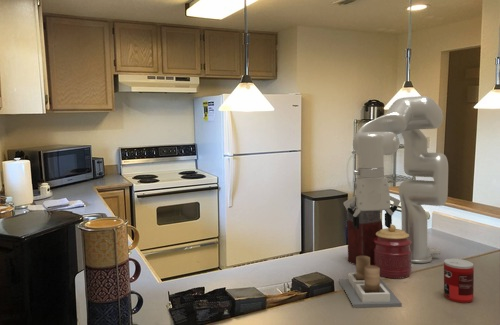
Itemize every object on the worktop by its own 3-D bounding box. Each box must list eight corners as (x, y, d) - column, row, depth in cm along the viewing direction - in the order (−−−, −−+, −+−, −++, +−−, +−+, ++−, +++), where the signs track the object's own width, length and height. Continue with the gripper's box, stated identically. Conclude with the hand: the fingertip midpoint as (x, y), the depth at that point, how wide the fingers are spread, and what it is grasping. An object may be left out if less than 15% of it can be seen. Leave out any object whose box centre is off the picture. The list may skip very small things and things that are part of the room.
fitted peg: (368, 281, 131) (367, 255, 130) (372, 286, 127) (371, 259, 126) (355, 282, 131) (354, 255, 130) (358, 287, 127) (358, 259, 126)
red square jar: (385, 263, 152) (385, 192, 150) (362, 268, 147) (361, 194, 146) (370, 257, 160) (369, 189, 158) (347, 261, 156) (346, 191, 154)
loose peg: (381, 299, 117) (381, 270, 116) (367, 299, 117) (367, 270, 116) (376, 293, 121) (376, 265, 120) (362, 293, 121) (362, 265, 120)
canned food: (447, 290, 124) (447, 256, 123) (475, 296, 119) (476, 261, 118) (440, 299, 118) (440, 263, 117) (470, 305, 113) (471, 268, 112)
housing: (379, 281, 134) (379, 271, 134) (401, 306, 114) (401, 294, 114) (339, 282, 134) (338, 272, 134) (353, 307, 114) (353, 296, 114)
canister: (387, 281, 134) (387, 230, 132) (366, 269, 146) (366, 222, 145) (419, 276, 137) (419, 226, 136) (396, 265, 150) (396, 219, 148)
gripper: (345, 176, 117) (347, 232, 118) (403, 173, 117) (404, 229, 118) (340, 173, 124) (341, 225, 126) (394, 170, 124) (395, 223, 126)
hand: (372, 227), depth 122 cm, fingers open, 9 cm apart
